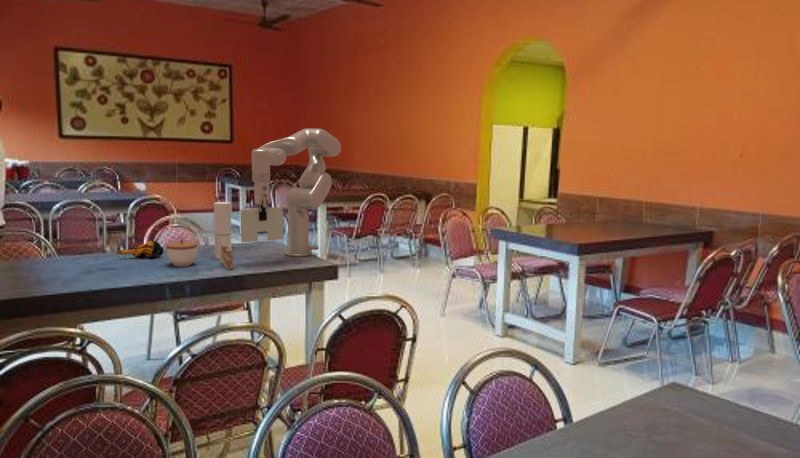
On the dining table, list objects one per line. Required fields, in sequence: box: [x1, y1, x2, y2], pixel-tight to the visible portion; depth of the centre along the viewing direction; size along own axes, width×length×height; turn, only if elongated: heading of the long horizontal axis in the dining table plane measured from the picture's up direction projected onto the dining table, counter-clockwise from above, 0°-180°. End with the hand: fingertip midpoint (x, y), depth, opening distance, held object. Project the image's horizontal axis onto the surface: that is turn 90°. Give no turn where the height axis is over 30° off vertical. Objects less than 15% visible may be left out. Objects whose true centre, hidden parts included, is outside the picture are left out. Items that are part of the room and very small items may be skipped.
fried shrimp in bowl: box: [115, 238, 164, 260], centre depth 273 cm, size 9×11×18 cm
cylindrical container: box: [213, 201, 232, 260], centre depth 278 cm, size 7×7×25 cm
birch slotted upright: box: [220, 245, 234, 271], centre depth 261 cm, size 2×15×8 cm, turn 27°
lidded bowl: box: [165, 238, 198, 267], centre depth 262 cm, size 13×13×11 cm
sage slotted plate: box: [239, 206, 284, 243], centre depth 266 cm, size 18×2×14 cm, turn 116°
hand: (262, 219), depth 266 cm, fingers closed on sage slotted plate, 2 cm apart
